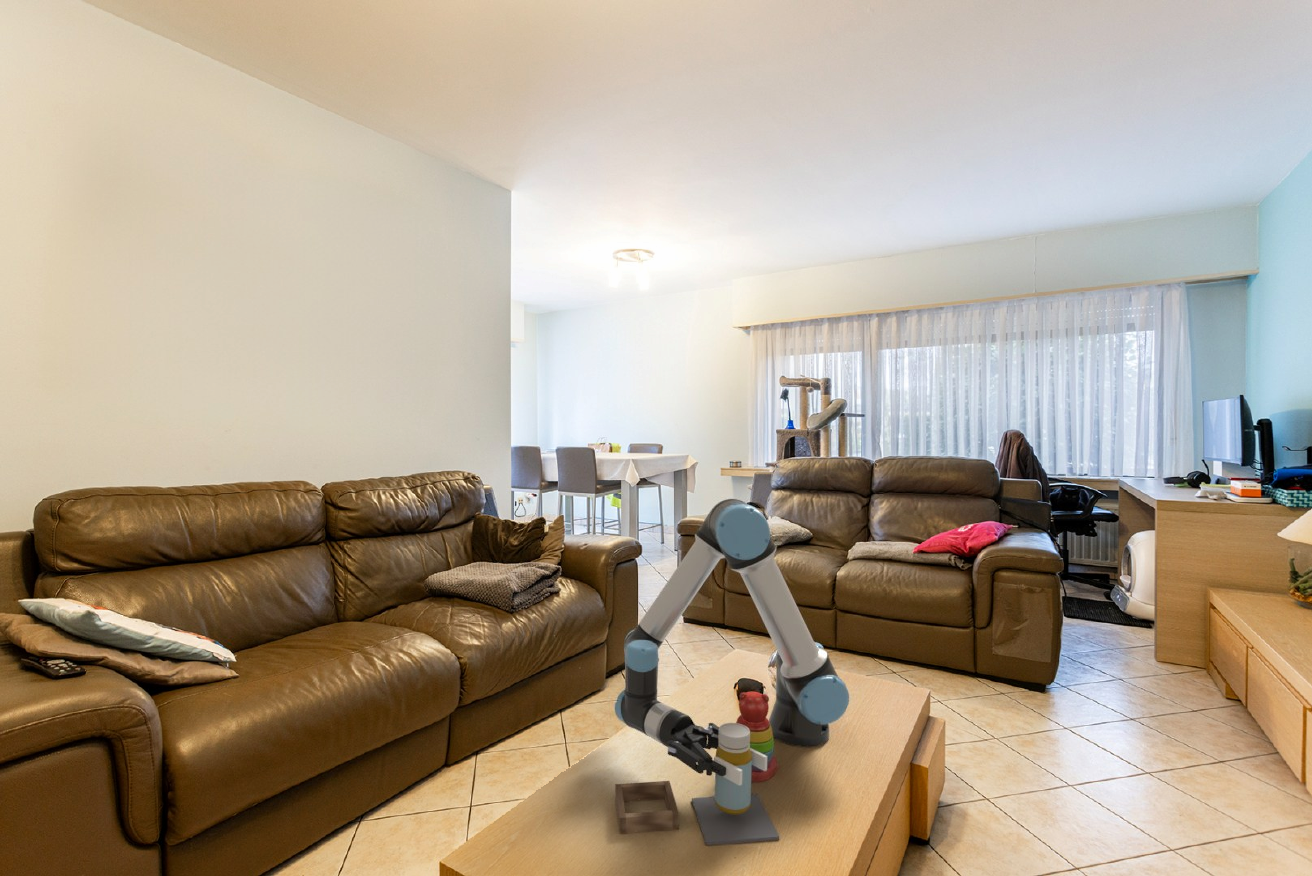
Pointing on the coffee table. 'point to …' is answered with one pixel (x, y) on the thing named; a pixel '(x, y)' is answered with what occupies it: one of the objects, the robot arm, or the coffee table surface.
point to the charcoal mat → (734, 823)
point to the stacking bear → (758, 731)
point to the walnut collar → (646, 819)
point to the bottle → (738, 754)
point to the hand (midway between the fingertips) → (753, 770)
